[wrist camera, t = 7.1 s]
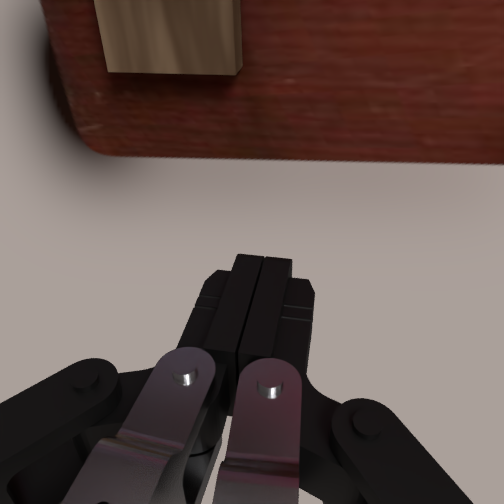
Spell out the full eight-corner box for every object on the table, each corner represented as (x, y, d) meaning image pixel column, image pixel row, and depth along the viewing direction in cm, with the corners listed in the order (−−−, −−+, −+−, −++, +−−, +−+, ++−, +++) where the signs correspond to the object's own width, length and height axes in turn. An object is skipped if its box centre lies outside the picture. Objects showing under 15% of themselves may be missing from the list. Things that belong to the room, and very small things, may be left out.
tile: (228, -74, 29) (79, -70, 31) (235, 75, 35) (108, 72, 36) (237, -76, 32) (97, -72, 33) (242, 65, 37) (121, 62, 38)
